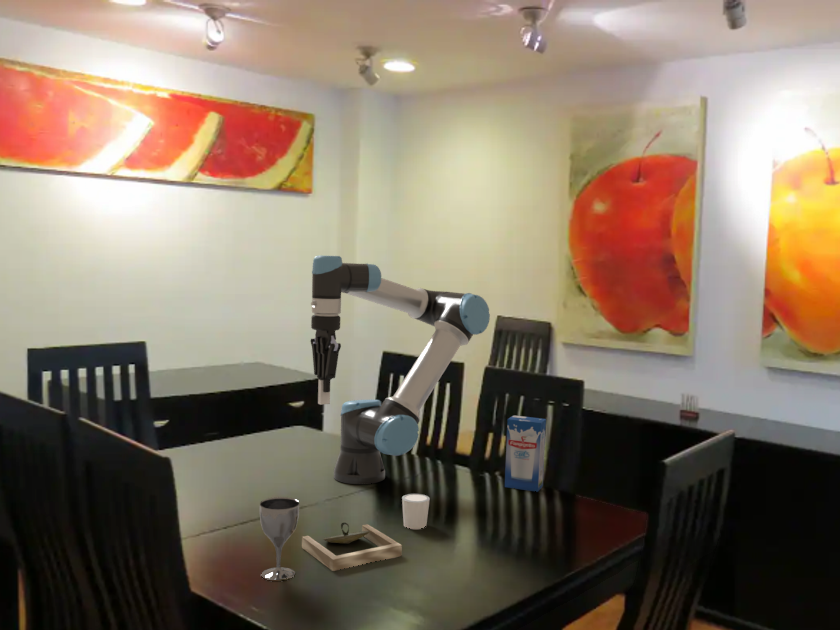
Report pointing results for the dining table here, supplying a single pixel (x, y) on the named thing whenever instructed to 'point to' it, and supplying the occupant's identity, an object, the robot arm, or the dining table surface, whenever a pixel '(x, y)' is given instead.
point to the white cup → (415, 510)
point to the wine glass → (279, 530)
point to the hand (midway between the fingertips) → (323, 403)
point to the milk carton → (525, 453)
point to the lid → (346, 536)
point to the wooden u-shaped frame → (333, 562)
